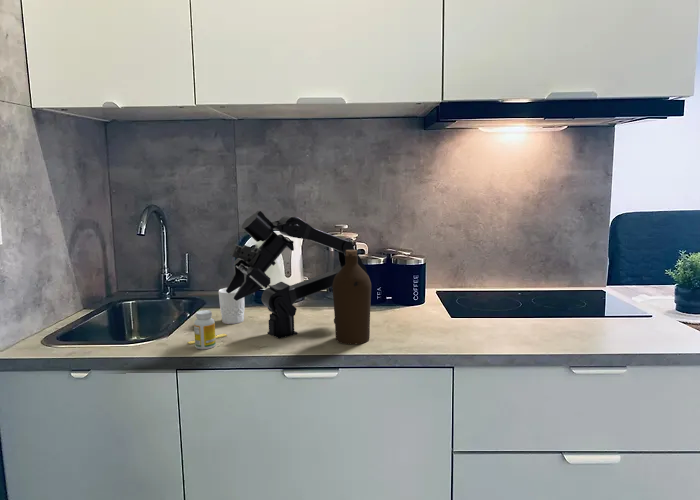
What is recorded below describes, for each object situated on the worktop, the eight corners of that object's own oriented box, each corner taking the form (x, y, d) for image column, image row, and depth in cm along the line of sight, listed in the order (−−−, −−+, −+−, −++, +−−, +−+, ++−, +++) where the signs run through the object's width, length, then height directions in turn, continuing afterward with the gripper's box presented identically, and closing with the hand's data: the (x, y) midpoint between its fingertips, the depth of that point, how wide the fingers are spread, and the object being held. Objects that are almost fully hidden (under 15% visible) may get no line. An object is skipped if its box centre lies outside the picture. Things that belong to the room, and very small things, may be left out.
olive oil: (379, 339, 147) (379, 250, 143) (351, 348, 140) (350, 255, 136) (353, 330, 155) (352, 246, 151) (325, 339, 148) (323, 250, 144)
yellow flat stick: (224, 334, 153) (224, 333, 153) (227, 335, 152) (227, 334, 152) (187, 343, 146) (187, 342, 146) (190, 344, 145) (190, 343, 145)
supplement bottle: (192, 349, 141) (190, 314, 139) (198, 343, 146) (196, 309, 144) (213, 349, 141) (210, 314, 139) (218, 343, 146) (216, 309, 144)
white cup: (235, 316, 172) (233, 285, 170) (251, 320, 167) (249, 289, 166) (215, 321, 166) (213, 290, 164) (230, 326, 161) (229, 294, 160)
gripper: (239, 229, 152) (202, 271, 150) (256, 237, 136) (215, 284, 133) (266, 254, 157) (231, 295, 154) (287, 264, 140) (247, 310, 137)
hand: (230, 295), depth 144 cm, fingers open, 9 cm apart
